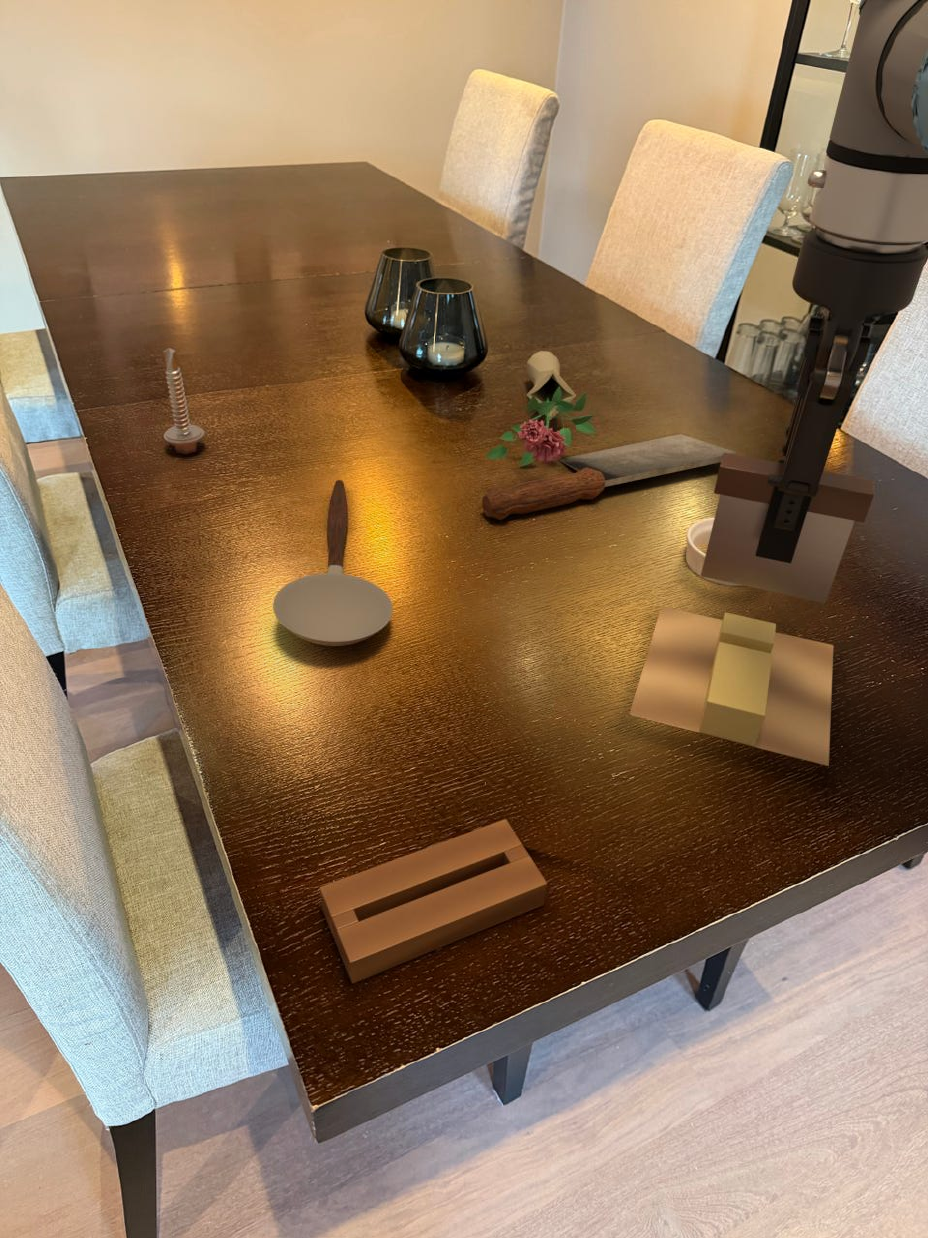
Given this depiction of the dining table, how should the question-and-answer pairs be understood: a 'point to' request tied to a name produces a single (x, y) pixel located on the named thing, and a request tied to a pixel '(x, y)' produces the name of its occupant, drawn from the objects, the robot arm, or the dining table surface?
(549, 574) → the dining table surface
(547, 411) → the carnation
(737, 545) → the dough scraper
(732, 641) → the butter pat
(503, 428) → the dining table surface
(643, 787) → the dining table surface
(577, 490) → the meat cleaver
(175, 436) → the screw
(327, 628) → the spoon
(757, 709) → the butter stick
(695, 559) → the white ring
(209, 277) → the dining table surface
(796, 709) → the butter board
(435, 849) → the block
